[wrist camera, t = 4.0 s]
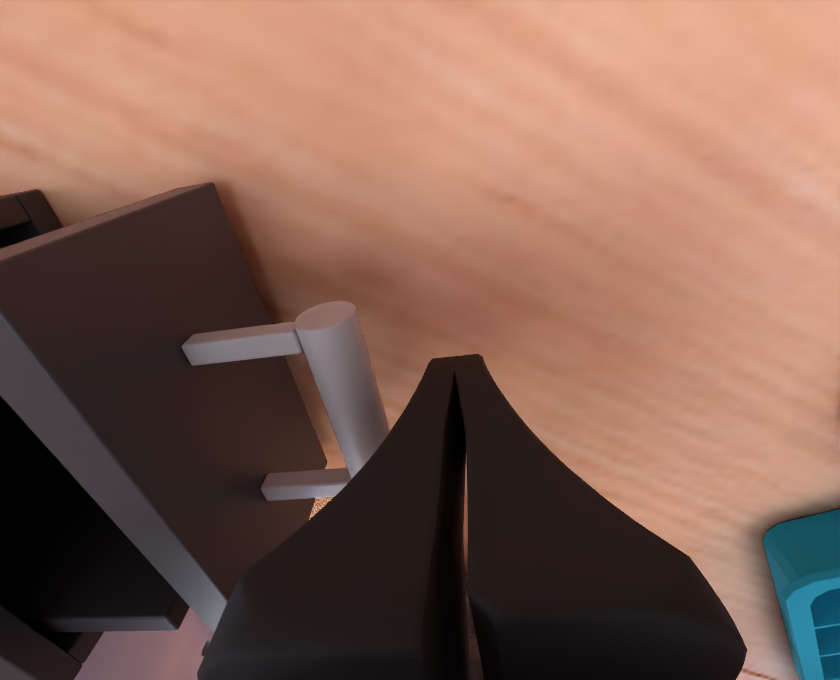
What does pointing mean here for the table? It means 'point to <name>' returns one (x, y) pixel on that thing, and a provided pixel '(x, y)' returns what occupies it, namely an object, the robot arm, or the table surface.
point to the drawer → (159, 417)
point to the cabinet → (3, 631)
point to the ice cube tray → (809, 590)
